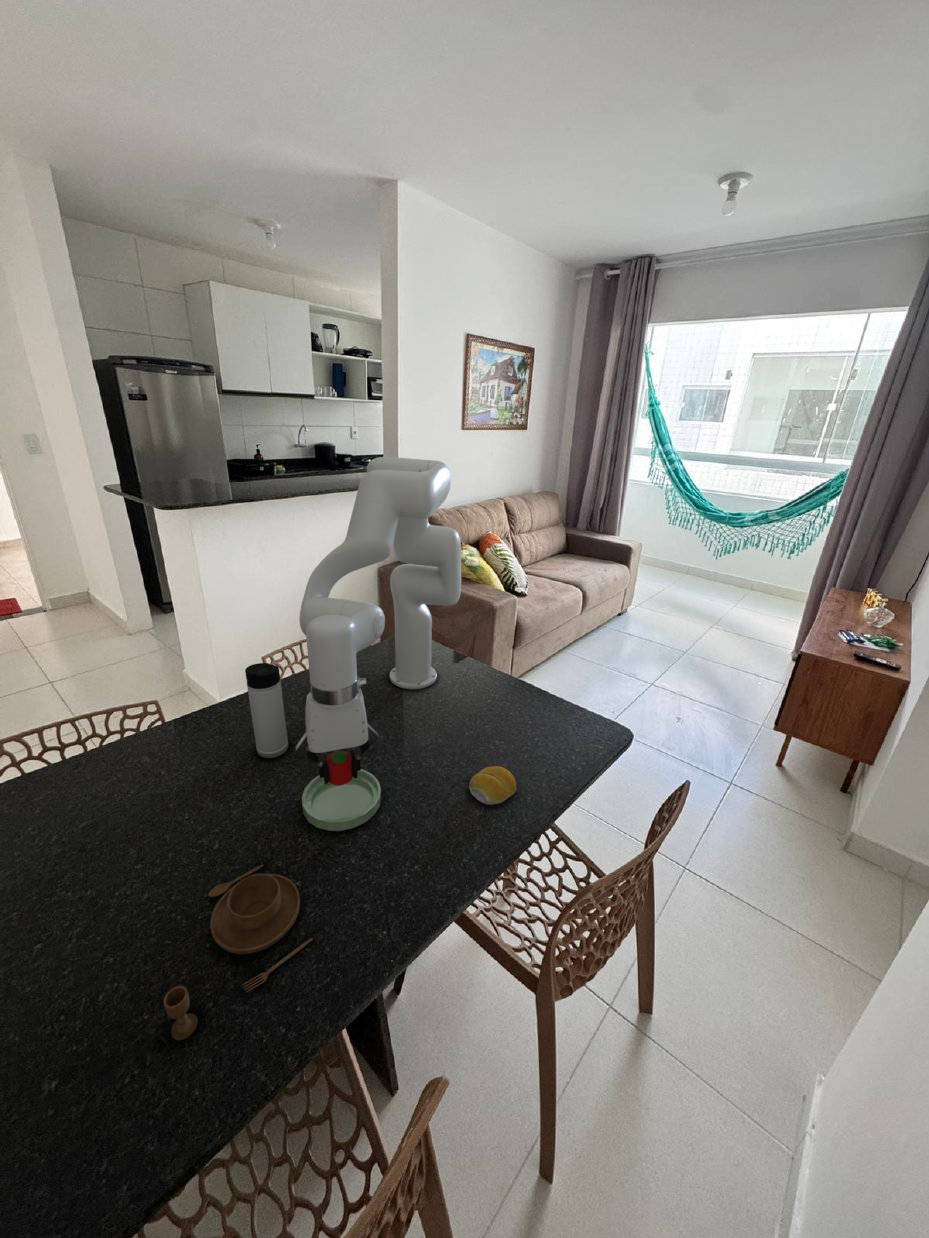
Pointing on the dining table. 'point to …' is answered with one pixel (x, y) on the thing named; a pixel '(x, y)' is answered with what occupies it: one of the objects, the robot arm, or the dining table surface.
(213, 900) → the dining table surface
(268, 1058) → the dining table surface
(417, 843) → the dining table surface
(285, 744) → the travel mug
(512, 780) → the bread roll
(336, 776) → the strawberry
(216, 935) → the place setting
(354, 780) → the dish
